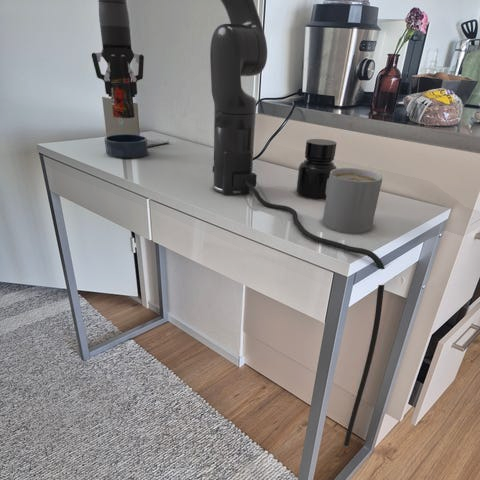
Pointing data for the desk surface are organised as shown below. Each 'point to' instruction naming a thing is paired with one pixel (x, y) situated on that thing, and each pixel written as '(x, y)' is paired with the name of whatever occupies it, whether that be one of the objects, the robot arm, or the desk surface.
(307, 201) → the desk surface
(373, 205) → the coffee mug
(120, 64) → the deodorant
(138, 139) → the bowl
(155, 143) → the laptop
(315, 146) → the ink bottle
